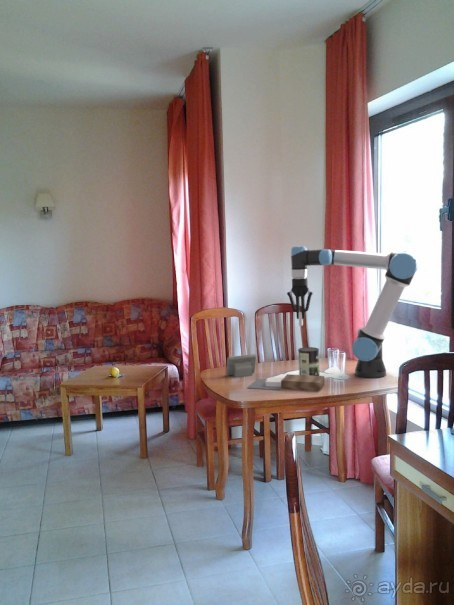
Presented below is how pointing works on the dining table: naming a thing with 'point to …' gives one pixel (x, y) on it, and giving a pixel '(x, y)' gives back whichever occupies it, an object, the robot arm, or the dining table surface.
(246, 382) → the dining table surface
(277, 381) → the coaster
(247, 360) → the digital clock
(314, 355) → the coffee can
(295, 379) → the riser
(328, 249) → the robot arm
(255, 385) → the mat
